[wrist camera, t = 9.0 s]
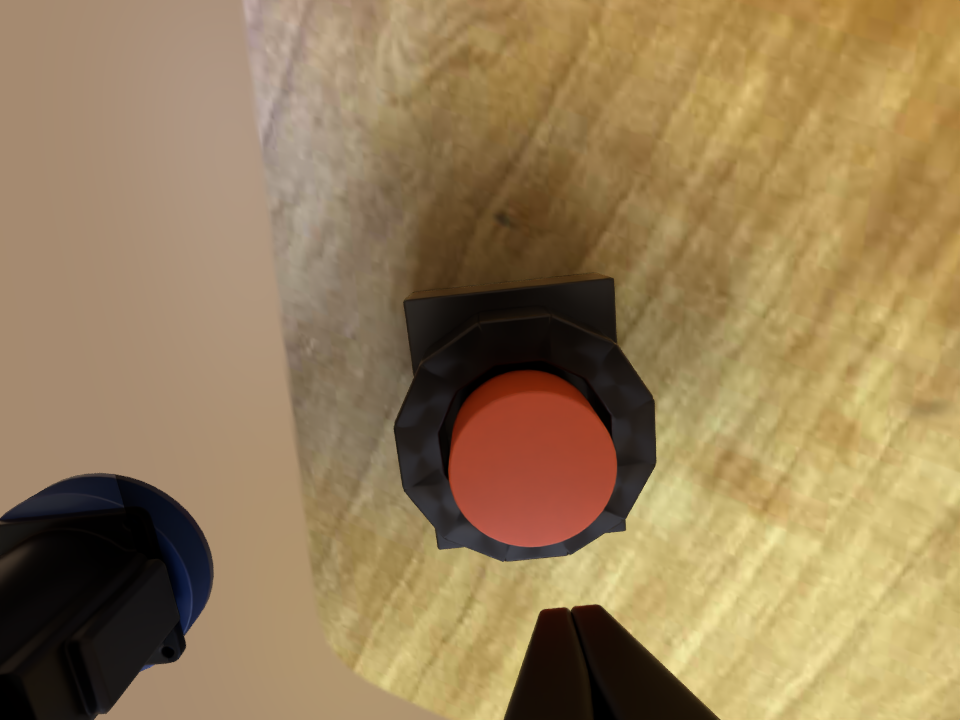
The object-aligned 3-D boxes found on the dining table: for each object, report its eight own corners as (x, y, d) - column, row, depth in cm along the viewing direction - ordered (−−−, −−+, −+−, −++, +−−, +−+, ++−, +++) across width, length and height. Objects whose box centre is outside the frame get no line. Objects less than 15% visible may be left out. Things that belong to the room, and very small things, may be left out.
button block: (429, 516, 19) (417, 589, 15) (397, 293, 17) (375, 310, 13) (621, 496, 19) (660, 565, 15) (611, 270, 17) (651, 280, 13)
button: (460, 512, 15) (458, 555, 13) (443, 376, 14) (437, 400, 12) (601, 498, 15) (621, 539, 13) (593, 361, 14) (613, 382, 12)
